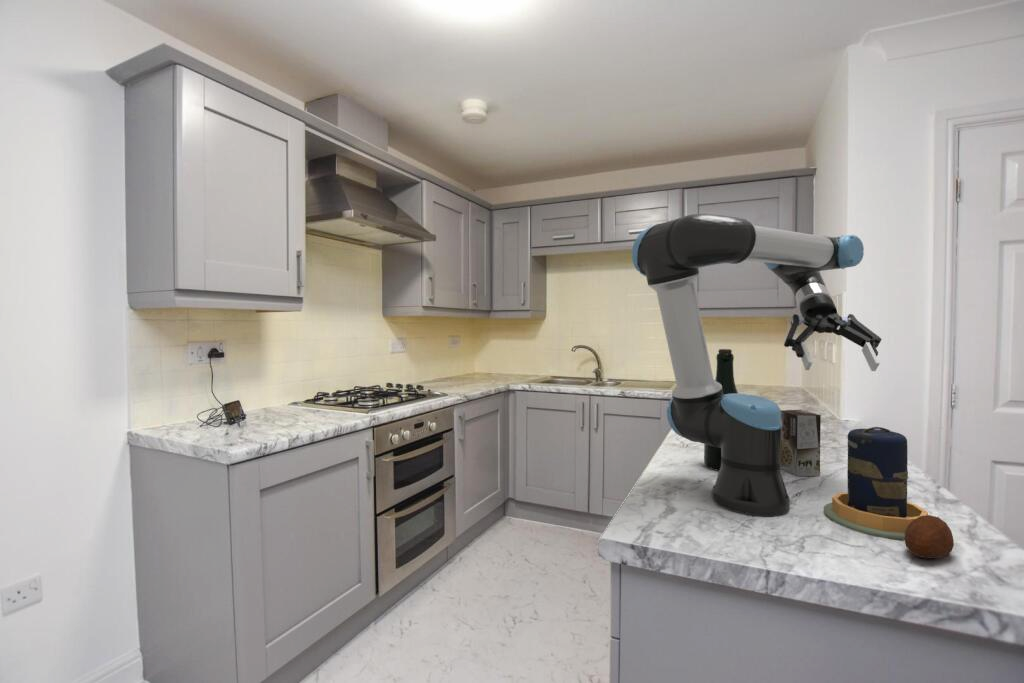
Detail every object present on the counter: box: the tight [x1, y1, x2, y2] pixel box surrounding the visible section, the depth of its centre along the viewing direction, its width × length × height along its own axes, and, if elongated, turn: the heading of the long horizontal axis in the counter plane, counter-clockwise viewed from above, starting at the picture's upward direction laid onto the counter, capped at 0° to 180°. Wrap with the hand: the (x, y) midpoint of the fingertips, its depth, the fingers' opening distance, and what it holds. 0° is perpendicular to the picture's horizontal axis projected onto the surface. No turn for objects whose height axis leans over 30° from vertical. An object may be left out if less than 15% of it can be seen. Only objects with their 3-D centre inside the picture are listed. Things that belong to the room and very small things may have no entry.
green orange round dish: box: [823, 491, 929, 541], centre depth 95 cm, size 18×18×3 cm
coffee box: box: [780, 409, 822, 477], centre depth 128 cm, size 9×6×16 cm
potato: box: [904, 514, 955, 559], centre depth 81 cm, size 6×12×6 cm, turn 125°
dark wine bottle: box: [703, 348, 739, 471], centre depth 132 cm, size 10×10×33 cm
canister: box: [846, 426, 909, 518], centre depth 95 cm, size 10×10×18 cm
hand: (841, 366), depth 109 cm, fingers open, 13 cm apart
